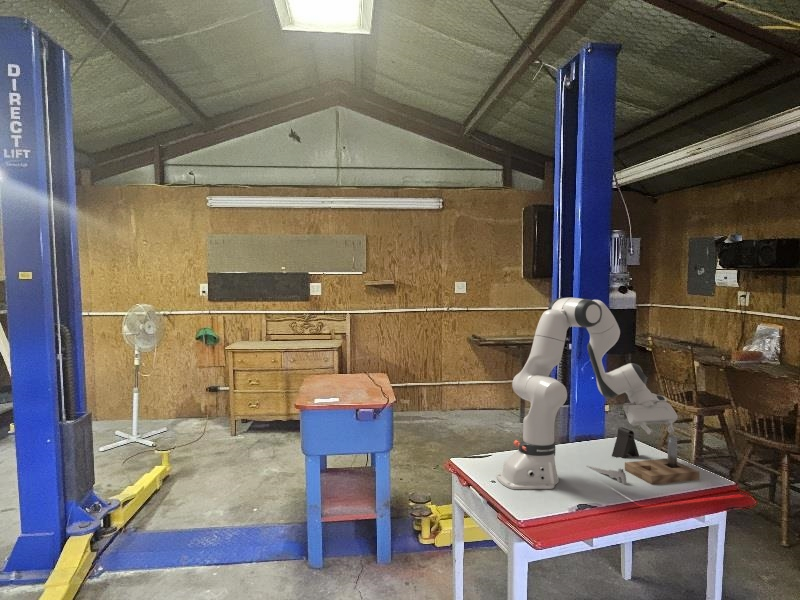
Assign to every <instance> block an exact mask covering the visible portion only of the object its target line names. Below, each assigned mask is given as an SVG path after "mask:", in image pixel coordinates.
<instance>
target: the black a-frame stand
mask: <svg viewBox="0 0 800 600" xmlns="http://www.w3.org/2000/svg"><path fill="white" fill-rule="evenodd" d="M611 457H613V458H615V457H616V459H617V458H618V459H619V458H621V459H626V458H628V457H637V458H638V457H640V453H639V450H638V446H637V444H636V441H635V433H634V431H633V430H631V429H629V428H625V427H620V426H618V428H617V436H616V440H615V443H614V446H613V450H612V453H611Z"/></svg>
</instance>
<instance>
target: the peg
mask: <svg viewBox="0 0 800 600" xmlns="http://www.w3.org/2000/svg"><path fill="white" fill-rule="evenodd" d="M667 458H668V467H670V468H677V462H678V436H676V435H671V434H669V435H667Z"/></svg>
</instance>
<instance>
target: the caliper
mask: <svg viewBox="0 0 800 600" xmlns="http://www.w3.org/2000/svg"><path fill="white" fill-rule="evenodd" d="M585 467H587V468H588V469H590V470H592V471H595V472H596V473H599V474H602V475H603V474H604V475H608V476H609V478H613V479H615V478H616V480H617V482H618V483H620V484H622V485H624V486H626V485H627V476H626V472H625V470H624V469H623V468H618V469H617V470H615V469H605V468H601V467H595V466H591V465H586V466H585Z"/></svg>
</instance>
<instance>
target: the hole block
mask: <svg viewBox="0 0 800 600" xmlns="http://www.w3.org/2000/svg"><path fill="white" fill-rule="evenodd" d="M625 471H626V473H629V474H631V475H633V476H635V477H636V478H638V479H640V480H641V481H644V482H645V483H648V484H650V485H651V486H652V485H654V486H655V485H663V484H670V483H678V482H679V483H680V482H689V481H700V471H699V470H697V469H695V468H693V467H690V466H688V465H686V464H683V463H681V462H678V461H677V468H670V467H668V457H667V458H659V459H650V460H638V461H637V460H636V461H628V462H627V461H625V462H624V472H625Z"/></svg>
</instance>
